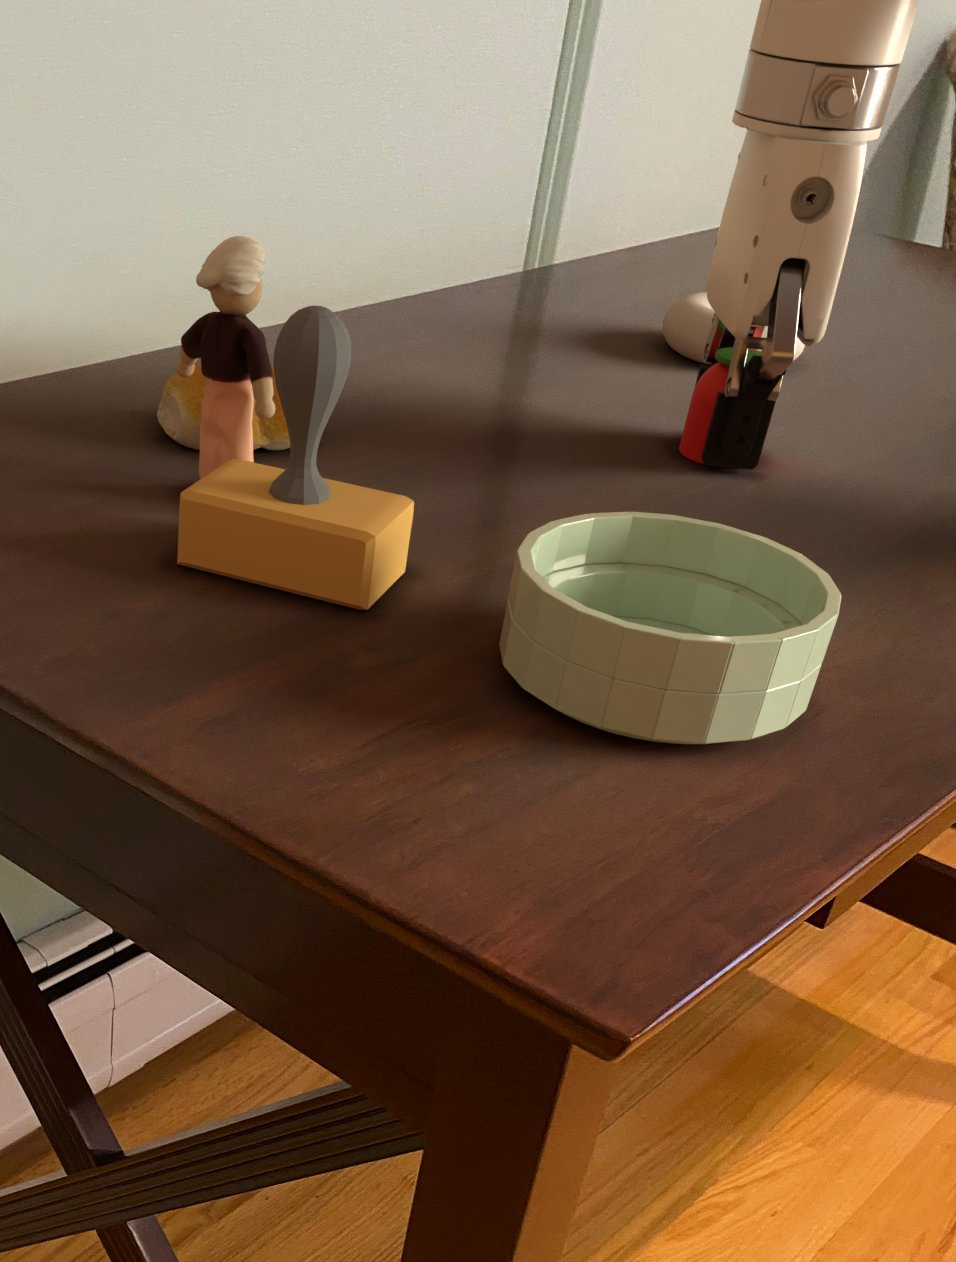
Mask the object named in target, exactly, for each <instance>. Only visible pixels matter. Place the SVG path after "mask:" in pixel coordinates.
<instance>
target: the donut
mask: <svg viewBox="0 0 956 1262" xmlns="http://www.w3.org/2000/svg"><path fill="white" fill-rule="evenodd" d="M714 313H715V311H714V310H713V309H712V307H711V305H710V304H709V302H708V299H707V290H706V291H700V292H693V293H691V294H688V295H684V296H682V297H679V298H678V299H677V300H676V301H674V303H673V304H672V305H671V307H669V309H668V310H667V312H666V313H665V315H664V318H663V320H662V332H663V337H664V338H665V340H666V342H667V344H668V345H669V347H670V348H671V350H674V352H677V353H678V354H680V355H681V356H682V357H684V358H686V359H688V360H689V359H690V360H692V361H694V362H697V363H700V364H706V365H711V363H704V362H703V353H704V348H705V345H706V342H707V339H708V335H709V332H710V329H711V326H712V319H713V318H714ZM767 330H768V326H765V328H764V331H763V333H762V336H761V337H762V338H767ZM805 348H806V345H804V344H803V343H802V342H801V341H800V340H799V339H798V337H797V336H796V346H795V354H794V358H793V361H795V360H797V359H798V358H799V356H800V355H802V353H803V352H804V349H805ZM757 351H760V352H761V351H762V349H757Z"/></svg>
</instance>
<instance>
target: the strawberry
mask: <svg viewBox="0 0 956 1262" xmlns="http://www.w3.org/2000/svg"><path fill="white" fill-rule="evenodd" d="M732 352H733V347H728V348H721V349H718V350H717V351H716V354H715V359H716V360H717V361H719V362H718V363H716V364H714V365H713V366H711V367H710V368H709V369H708V370H707V371H706V372H705V373H704V374H703V375H702V376H701V377H700V379H699V381H698V382H697V384H696V383H695V384H696V386H694V388H693V392H692V395H691V399H690V403H689V407H688V411H687V415H686V419H685V423H684V427H683V431H682V435H681V438H680V443H679V447H678V450H679V453H680V454H681V455H682V456H683V457H685V458H686V459H688V460H690V461H693V462H694V463H698V464H701V465H705V464H704V463H703V461H702V459H701V456H702V452H703V448H704V444H705V440H706V436H707V433H708V429H709V425H710V421H711V417H712V413H713V410H714V406H715V402H716V398H717V394H718V392H723V393H725V387H726V382H727V377H728V372H729V367H730V362H731V357H732ZM753 355H757V356H760V355H761V352H760V351H756V350H752V349H748V352H747V357H746V362H745V367H746V365H747V364H748V361H750V359H751V358H752V356H753ZM745 367H744V368H745ZM720 468H721V469H722V468H723V469H728V468H727V467H720Z"/></svg>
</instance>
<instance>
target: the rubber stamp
mask: <svg viewBox="0 0 956 1262" xmlns="http://www.w3.org/2000/svg"><path fill="white" fill-rule="evenodd" d="M351 359H352V341H351V337H350V333H349V330H348V327H346V325H345V321H343V320H342V319H341V318H340V316H339V315H338V314H337V313H336V312H334V311H333V310H332V309H330V308H328V307H326V306H322V305H308V306H305V307H302V308H300V309H297V310H296V311H295V312H293V313H292V314H291V315H290V316H289V317H288V319H287V320H286V321H285V322H284V324H283V326H282V327H281V329H280V331H279V334H278V336H277V338H276V342H275V346H274V350H273V365H274V375H275V382H276V386H277V391H278V395H279V399H280V402H281V406H282V409H283V413H284V416H285V420H286V424H287V428H288V433H289V439H290V448H289V450H290V454H289V459H288V460H289V461H288V464H287V467H286V468H280V467H275V466H271V465H266V464H263V463H262V464H261V463H257V462H254V463H253V462H249V461H244V460H240V459H235V458H234V459H231V460H229V461H226V462H225V463H224V464H222V465H221V466H219V467H218V468H216V469H215V470H213V471H212V472H210V473H209V474H207V475H206V476H205V477H203V478H202V479H200V478H199V480H197V481H196V482H194V483H192V485H190V486H188V487H186V489H183V490H182V491H181V492H180V494H179V511H178V512H179V513H178V535H177V536H178V537H177V559H176V561H177V562H176V564H177V565H179V566H183V567H186V568H190V569H191V568H192V569H195V570H199V571H203V572H208V573H212V574H215V575H219V576H223V577H227V578H231V579H235V580H239V581H243V582H247V583H251V584H255V585H259V586H262V587H263V586H264V587H267V588H270V589H275V590H280V591H282V592H283V591H284V592H287V593H292V594H295V595H299V596H303V597H307V598H311V599H316V600H319V601H323V602H327V603H331V604H334V605H340V606H344V607H347V608H352V609H355V610H360V611H365V610H366V611H367V610H369V609H370V608H371V607H372V606H373V605H374V604H375V603H376V602H377V601H378V600H379V599H380V598H381V597H382V596H383V595H384V594H385V593H386V592H387V591H388V590H389V589H390V588H391V587H392V586H393V585H394V583H396V582H397V580H398V579H400V577H402V576H403V575H404V574H405V573H406V568H407V561H408V553H409V547H410V540H411V533H412V526H413V520H414V511H415V510H414V509H415V507H414V506H415V500H413V499H411V498H410V497H408V496H406V495H402V494H397V493H393V492H390V491H389V492H388V491H384V490H380V489H374V488H371V487H366V486H361V485H357V484H353V483H348V482H344V481H339V480H334V479H330V478H325V477H322V475H321V474H320V472H319V469H318V466H317V455H318V450H319V445H320V442H321V439H322V436H323V433H324V430H325V428H326V427H327V424H328V422H329V419H330V418H331V415H332V413H333V412H334V410H335V407H336V405H337V403H338V401H339V399H340V396H341V394H342V391H343V389H344V388H345V387H344V386H345V384H346V380H347V377H348V376H349V371H350V366H351V361H352V360H351Z"/></svg>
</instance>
